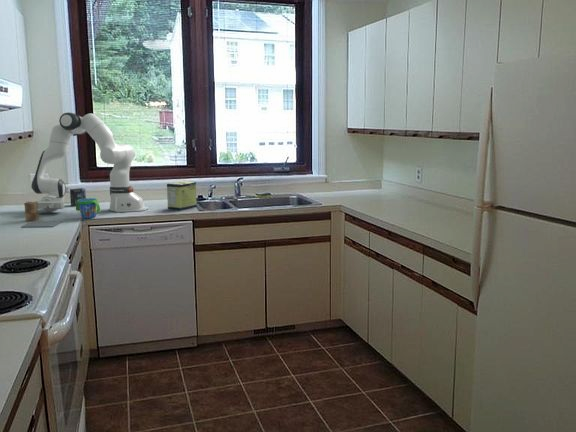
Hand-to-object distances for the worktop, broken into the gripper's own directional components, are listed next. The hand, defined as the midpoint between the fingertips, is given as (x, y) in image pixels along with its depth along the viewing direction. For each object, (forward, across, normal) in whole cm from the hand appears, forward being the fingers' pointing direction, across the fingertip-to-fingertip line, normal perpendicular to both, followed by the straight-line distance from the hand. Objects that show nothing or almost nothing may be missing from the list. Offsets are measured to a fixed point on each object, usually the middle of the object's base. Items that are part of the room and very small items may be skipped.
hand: (39, 207), depth 316 cm
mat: (+23, +10, +6) cm, 26 cm away
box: (-38, +9, +6) cm, 39 cm away
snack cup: (+4, +28, +6) cm, 29 cm away
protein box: (-25, +76, +6) cm, 80 cm away
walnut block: (+11, 0, +6) cm, 12 cm away
